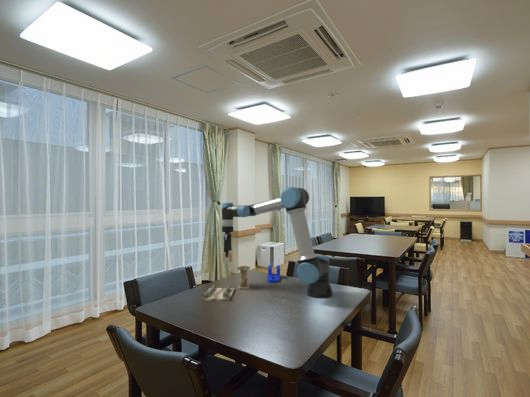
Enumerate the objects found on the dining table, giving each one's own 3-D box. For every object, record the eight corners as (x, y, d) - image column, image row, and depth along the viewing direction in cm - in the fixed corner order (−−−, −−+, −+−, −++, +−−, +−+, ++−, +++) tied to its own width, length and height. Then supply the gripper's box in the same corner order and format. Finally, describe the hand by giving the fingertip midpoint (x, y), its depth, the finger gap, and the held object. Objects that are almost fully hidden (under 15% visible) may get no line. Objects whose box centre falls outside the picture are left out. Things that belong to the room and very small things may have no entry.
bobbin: (250, 285, 188) (250, 266, 188) (249, 289, 180) (249, 268, 180) (238, 285, 188) (238, 266, 188) (236, 289, 180) (236, 268, 180)
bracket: (269, 276, 212) (268, 264, 212) (280, 276, 211) (280, 264, 211) (266, 283, 194) (266, 270, 194) (278, 283, 193) (278, 270, 193)
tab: (232, 260, 190) (232, 250, 190) (230, 262, 185) (230, 251, 185) (224, 260, 191) (224, 250, 191) (223, 262, 186) (223, 251, 186)
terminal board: (234, 289, 179) (234, 284, 179) (229, 300, 159) (229, 294, 159) (209, 289, 180) (209, 283, 180) (201, 300, 160) (201, 294, 160)
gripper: (224, 224, 198) (225, 258, 197) (218, 227, 180) (219, 263, 179) (235, 224, 197) (236, 258, 197) (230, 226, 179) (231, 264, 179)
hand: (228, 261), depth 188 cm, fingers closed on tab, 5 cm apart
